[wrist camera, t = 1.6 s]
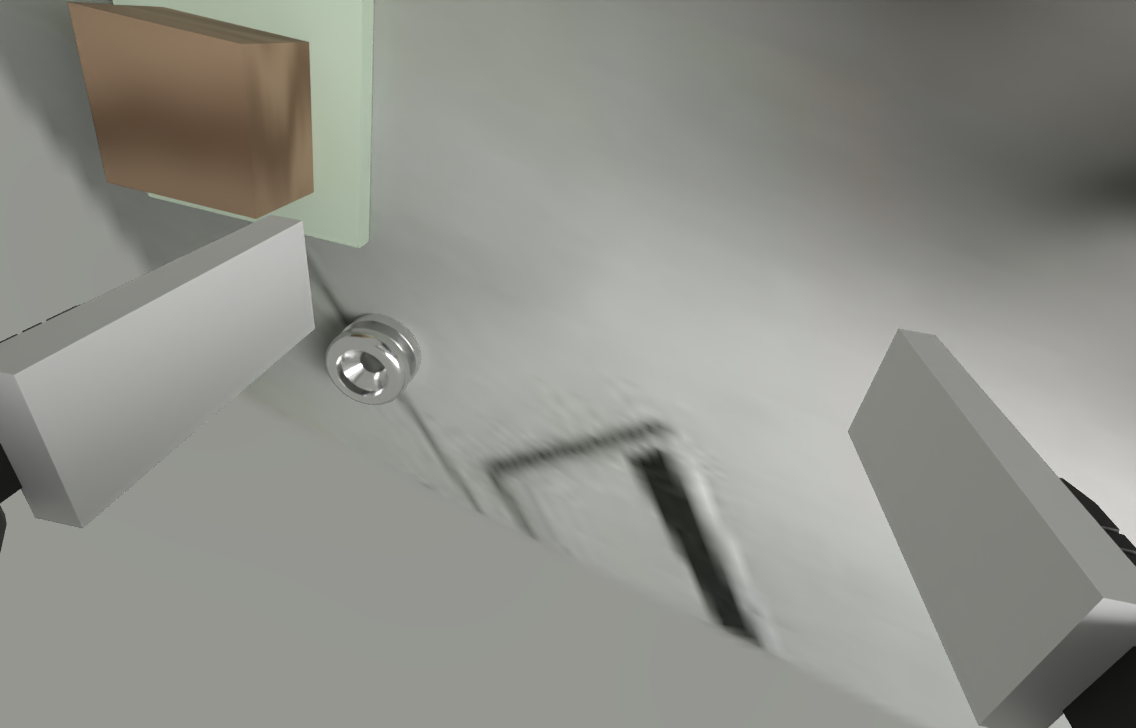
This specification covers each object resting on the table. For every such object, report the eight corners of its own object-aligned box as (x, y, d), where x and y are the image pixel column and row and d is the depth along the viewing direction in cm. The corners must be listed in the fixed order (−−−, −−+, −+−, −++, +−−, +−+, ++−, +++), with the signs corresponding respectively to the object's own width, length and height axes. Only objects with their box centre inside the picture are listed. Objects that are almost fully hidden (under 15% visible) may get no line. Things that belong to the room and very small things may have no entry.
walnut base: (163, 7, 26) (67, 2, 22) (309, 41, 26) (241, 44, 22) (185, 160, 30) (106, 182, 26) (313, 192, 30) (256, 219, 26)
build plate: (121, -68, 26) (99, -72, 25) (374, -8, 26) (362, -9, 25) (164, 191, 32) (148, 196, 31) (369, 241, 32) (359, 248, 31)
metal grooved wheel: (332, 317, 35) (360, 386, 38) (307, 340, 33) (339, 412, 35) (407, 309, 34) (431, 380, 37) (387, 331, 32) (414, 406, 34)
